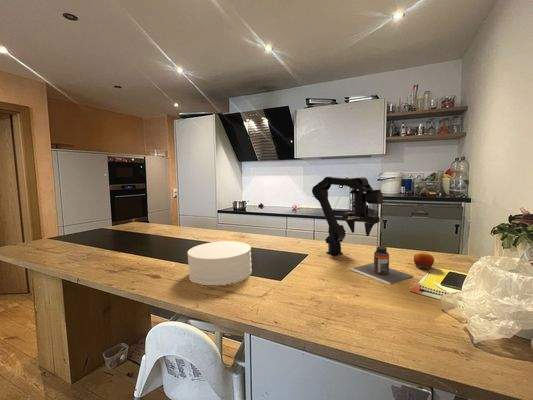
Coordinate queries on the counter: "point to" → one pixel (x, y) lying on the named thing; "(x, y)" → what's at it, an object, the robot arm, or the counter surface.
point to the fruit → (423, 260)
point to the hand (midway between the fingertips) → (360, 234)
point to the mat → (386, 279)
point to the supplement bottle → (381, 261)
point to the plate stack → (219, 263)
